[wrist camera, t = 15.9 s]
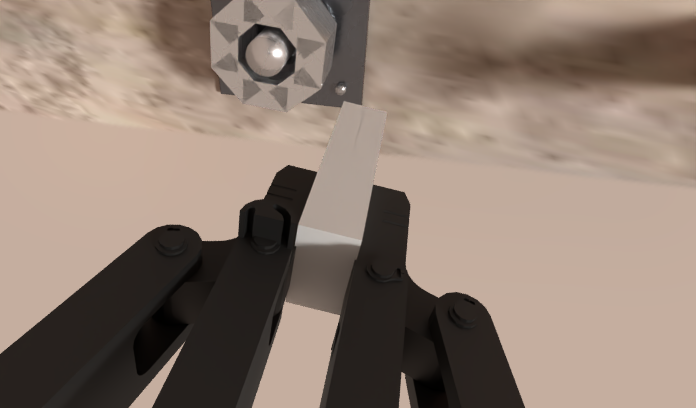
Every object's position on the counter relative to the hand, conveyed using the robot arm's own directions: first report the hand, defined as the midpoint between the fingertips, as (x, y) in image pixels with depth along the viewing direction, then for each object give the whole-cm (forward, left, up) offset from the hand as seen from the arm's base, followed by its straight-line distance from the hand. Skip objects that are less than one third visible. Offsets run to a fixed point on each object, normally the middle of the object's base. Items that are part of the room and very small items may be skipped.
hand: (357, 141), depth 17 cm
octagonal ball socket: (-4, -10, -26) cm, 28 cm away
